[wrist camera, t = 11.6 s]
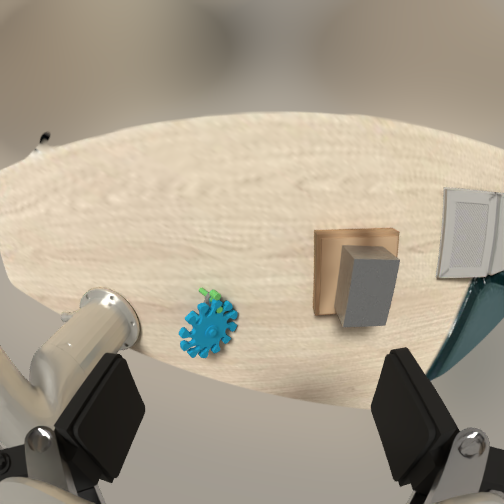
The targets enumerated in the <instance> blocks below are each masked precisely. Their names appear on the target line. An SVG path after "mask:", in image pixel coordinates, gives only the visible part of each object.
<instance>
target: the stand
mask: <svg viewBox="0 0 504 504" xmlns="http://www.w3.org/2000/svg"><path fill="white" fill-rule="evenodd" d="M398 243H399V231H397V230H395V229H393V228H372V229H338V230H314V290H313V310H314V313H315V316H317V315H331V314H337V312H336V310H335V308H334V303H335V296H336V290H337V282H338V275H339V267H340V259H341V250H342V245H357V246H383V247H384V248H386V249H387V250H388V251H389V252H391V253H392V254H393V255H394V256H396V257H397V254H398ZM390 306H391V305H390Z"/></svg>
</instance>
